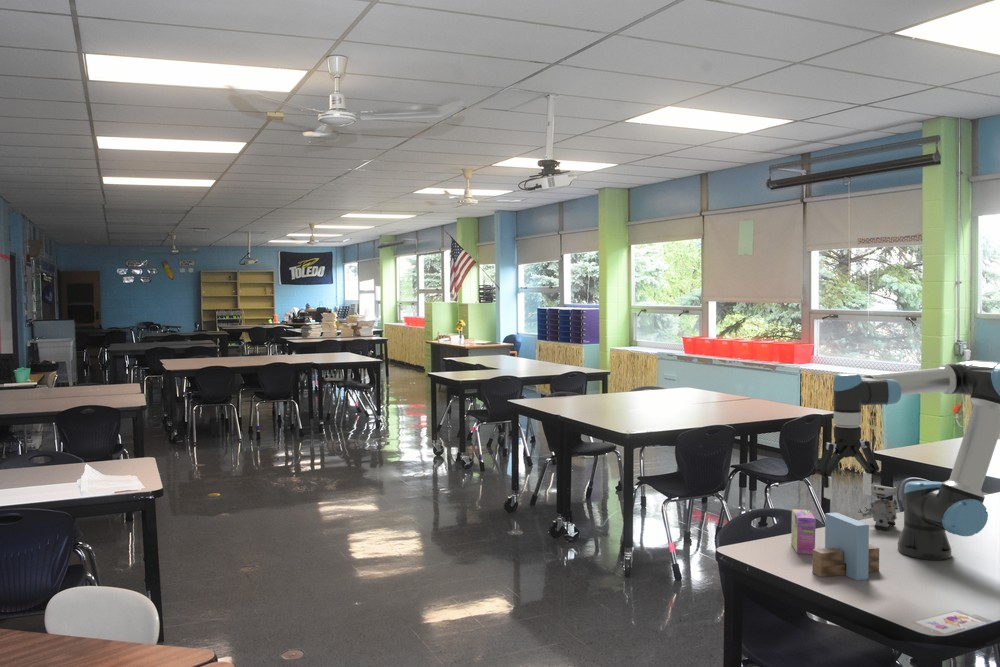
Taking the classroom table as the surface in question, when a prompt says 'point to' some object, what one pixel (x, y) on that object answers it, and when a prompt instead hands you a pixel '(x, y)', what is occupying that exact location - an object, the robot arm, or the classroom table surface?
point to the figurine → (882, 507)
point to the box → (803, 531)
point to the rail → (839, 561)
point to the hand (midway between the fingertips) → (847, 496)
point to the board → (849, 543)
